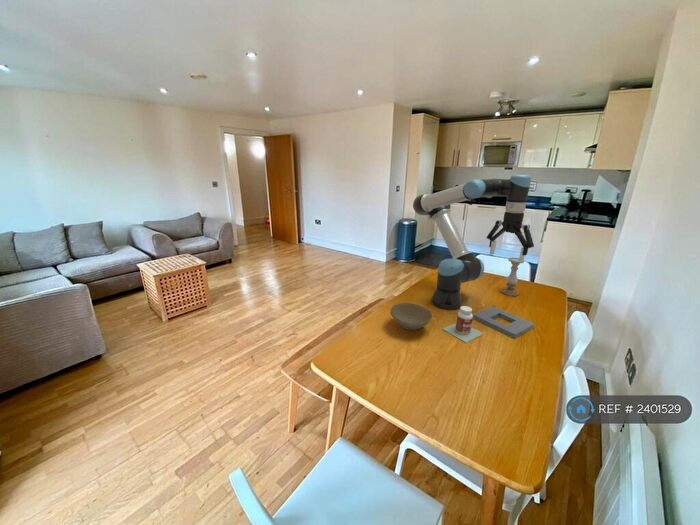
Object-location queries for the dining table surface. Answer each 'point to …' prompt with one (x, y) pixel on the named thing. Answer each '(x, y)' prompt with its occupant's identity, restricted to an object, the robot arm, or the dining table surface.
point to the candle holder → (512, 278)
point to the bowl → (411, 315)
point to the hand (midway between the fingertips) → (505, 257)
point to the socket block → (512, 329)
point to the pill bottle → (464, 320)
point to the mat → (463, 337)
